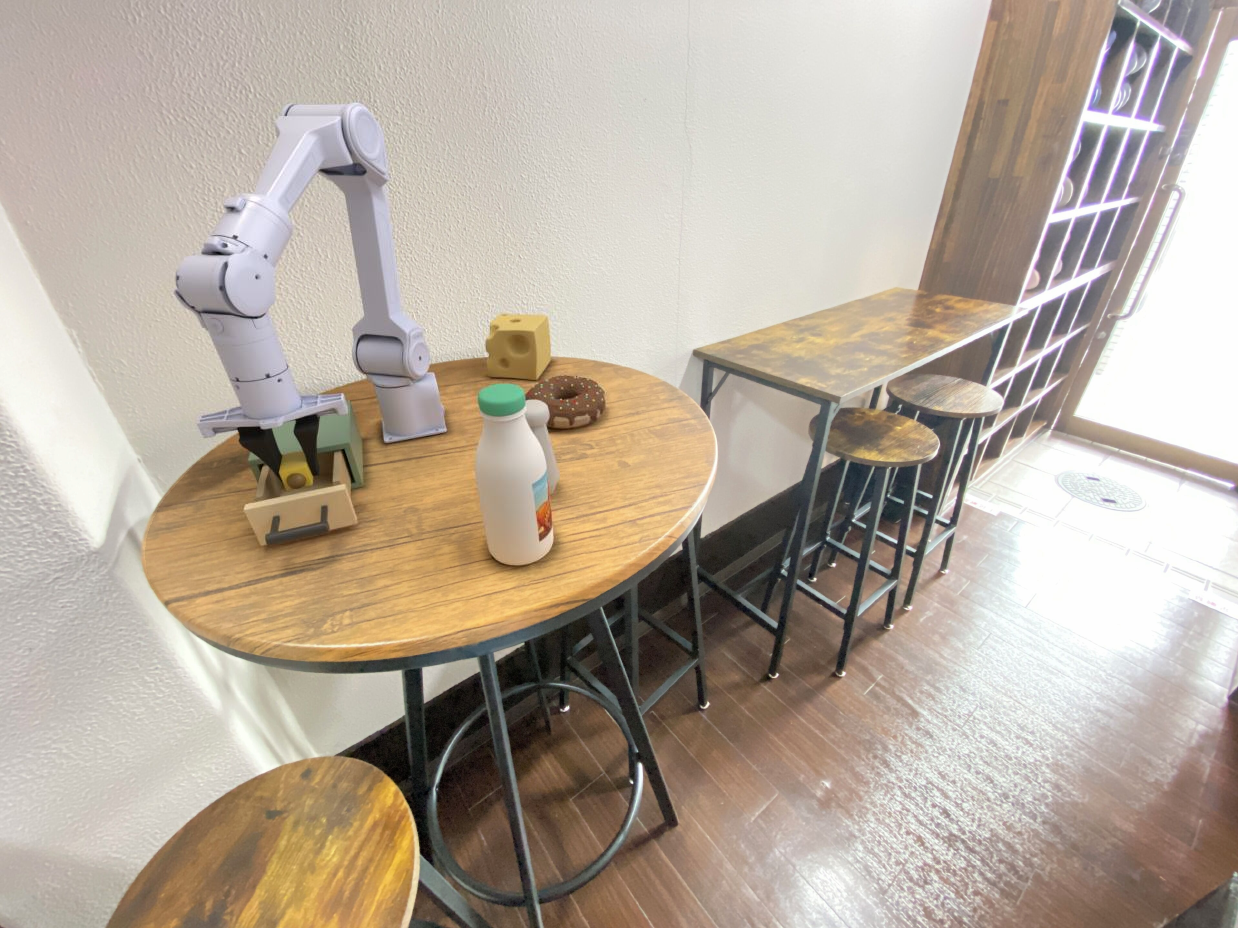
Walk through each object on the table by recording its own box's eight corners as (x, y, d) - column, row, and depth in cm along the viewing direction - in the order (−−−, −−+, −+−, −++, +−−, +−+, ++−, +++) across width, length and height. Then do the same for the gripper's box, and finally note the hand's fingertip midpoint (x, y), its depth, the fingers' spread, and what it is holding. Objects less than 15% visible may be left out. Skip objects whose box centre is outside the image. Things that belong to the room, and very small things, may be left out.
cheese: (487, 378, 104) (480, 328, 99) (506, 357, 113) (500, 310, 108) (539, 381, 103) (534, 331, 97) (554, 360, 112) (550, 313, 106)
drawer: (357, 547, 62) (344, 511, 59) (254, 572, 58) (235, 535, 55) (356, 471, 75) (346, 439, 72) (273, 488, 72) (258, 454, 69)
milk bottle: (525, 577, 59) (503, 416, 48) (474, 552, 62) (443, 397, 51) (567, 537, 64) (555, 385, 53) (518, 516, 68) (498, 370, 57)
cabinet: (363, 486, 73) (349, 442, 70) (268, 506, 70) (247, 460, 66) (362, 440, 84) (349, 399, 80) (279, 455, 80) (262, 413, 76)
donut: (606, 396, 97) (605, 370, 95) (606, 433, 86) (606, 405, 83) (527, 397, 97) (525, 371, 94) (517, 434, 85) (514, 406, 83)
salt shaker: (553, 505, 70) (545, 417, 63) (512, 500, 71) (499, 413, 64) (565, 480, 75) (560, 396, 68) (527, 475, 76) (517, 392, 68)
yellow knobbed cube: (315, 462, 68) (308, 445, 67) (312, 489, 63) (304, 471, 62) (290, 467, 67) (283, 449, 66) (285, 495, 62) (277, 476, 61)
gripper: (169, 397, 52) (225, 507, 60) (331, 374, 57) (364, 478, 64) (186, 371, 58) (236, 474, 65) (333, 351, 62) (363, 450, 70)
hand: (300, 474), depth 65 cm, fingers closed on yellow knobbed cube, 3 cm apart
